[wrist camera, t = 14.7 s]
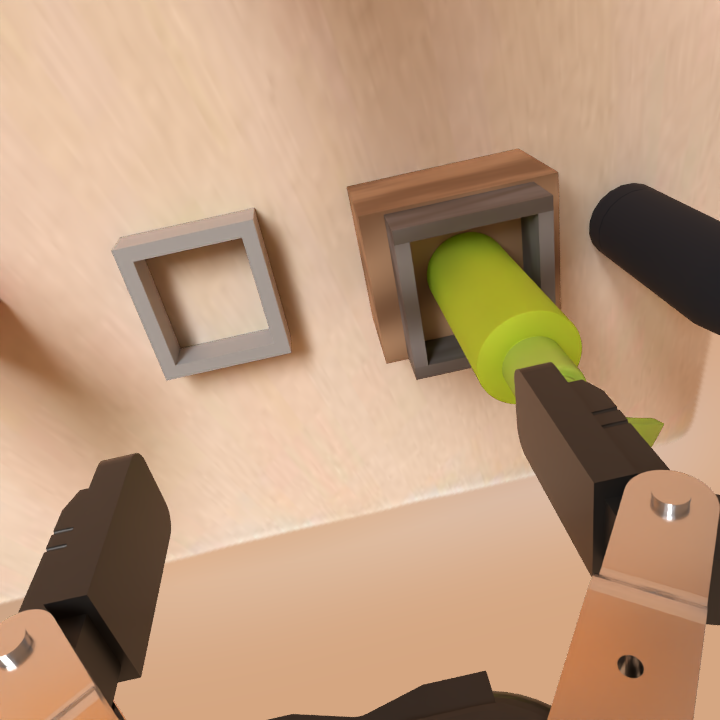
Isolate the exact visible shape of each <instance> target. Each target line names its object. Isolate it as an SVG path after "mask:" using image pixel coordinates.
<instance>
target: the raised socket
mask: <svg viewBox="0 0 720 720" xmlns="http://www.w3.org/2000/svg"><path fill="white" fill-rule="evenodd" d="M347 190H348V195H349V200H350V205H351V210H352V215H353V220H354V225H355V230H356V235H357V240H358V245H359V250H360V255H361V260H362V265H363V270H364V275H365V280H366V285H367V290H368V295H369V300H370V306H371V311H372V316H373V320H374V323H375V327H376V330H377V333H378V337H379V340H380V343H381V347H382V350H383V353H384V357H385V360H386V363H392V362H396V361H401V360H405V359H409V360H410V363H411V366H412V368H413V371H414V374H415V377H416V379H417V380H418V379H423V378H427V377H432V376H436V375H441V374H445V373H450V372H454V371H459V370H463V369H468V368H472V367H471V365H470V363H469V361H468V359H467V358H466V356H465V354H464V352H463V350H462V348H461V346H460V344H459V343H458V341H457V339H456V337H455V335H454V333H453V331H452V329H451V328H450V326H449V324H448V322H447V320H446V318H445V316H444V315H443V313H442V311H441V309H440V307H439V305H438V303H437V301H436V300H435V298H434V296H433V294H432V292H431V290H430V288H429V285H428V281H427V269H428V264H429V261H430V259H431V257H432V255H433V253H434V252H435V250H436V249H437V248H438V247H439V246H440V245H441V244H442V243H443V242H444V241H446V240H447V239H449V238H451V237H453V236H455V235H457V234H461V233H465V232H478V233H482V234H485V235H488V236H489V237H491V238H493V239H494V240H495V241H496V242H497V243H498V244H499V245H500V246H501V247H502V248H503V249H504V250H505V251H506V252H507V253H508V255H509V256H510V257H511V258H512V259H513V260H514V261H515V262H516V263H517V264H518V265H519V266H520V267H521V269H522V270H523V271H524V272H525V273H526V274H527V275H528V276H529V277H530V278H531V279H532V280H533V281H534V282H535V284H536V285H537V286H538V287H539V288H540V289H541V290H542V291H543V292H544V293H545V294H546V295H547V296H548V297H549V299H550V300H551V301H552V302H553V303H554V304H555V305H556V306H557V307H558V308H559V309H560V310H561V302H560V243H559V183H558V172H557V171H555V170H554V169H552V168H550V167H549V166H547V165H545V164H544V163H542V162H540V161H539V160H537V159H535V158H533V157H532V156H530V155H528V154H527V153H525V152H523V151H522V150H520V149H515V150H510V151H506V152H501V153H497V154H492V155H488V156H483V157H479V158H474V159H470V160H465V161H461V162H456V163H452V164H447V165H443V166H438V167H434V168H429V169H425V170H420V171H416V172H411V173H407V174H402V175H398V176H393V177H389V178H384V179H380V180H375V181H371V182H366V183H362V184H357V185H352V186H348V187H347Z"/></svg>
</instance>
